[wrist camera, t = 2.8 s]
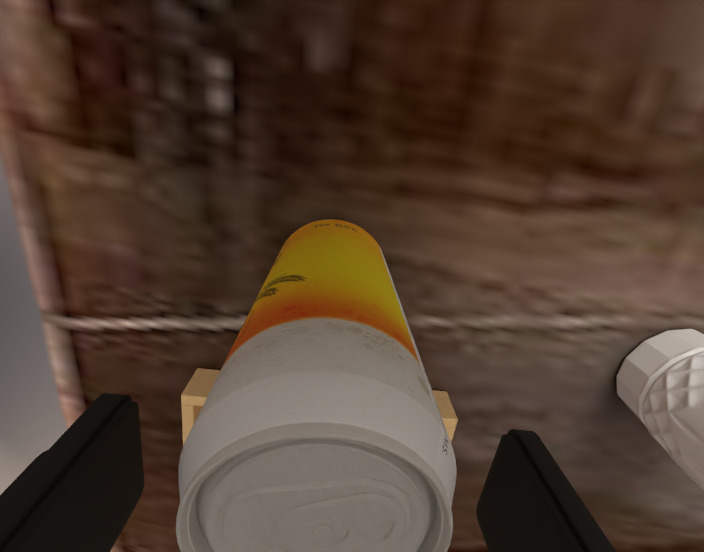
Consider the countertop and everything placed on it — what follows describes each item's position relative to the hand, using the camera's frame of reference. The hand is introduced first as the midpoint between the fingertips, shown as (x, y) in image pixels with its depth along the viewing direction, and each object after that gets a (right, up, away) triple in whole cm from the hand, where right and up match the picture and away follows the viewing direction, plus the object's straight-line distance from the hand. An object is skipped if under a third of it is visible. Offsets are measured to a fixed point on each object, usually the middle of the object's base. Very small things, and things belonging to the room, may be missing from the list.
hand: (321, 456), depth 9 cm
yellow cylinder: (0, +5, +12) cm, 13 cm away
